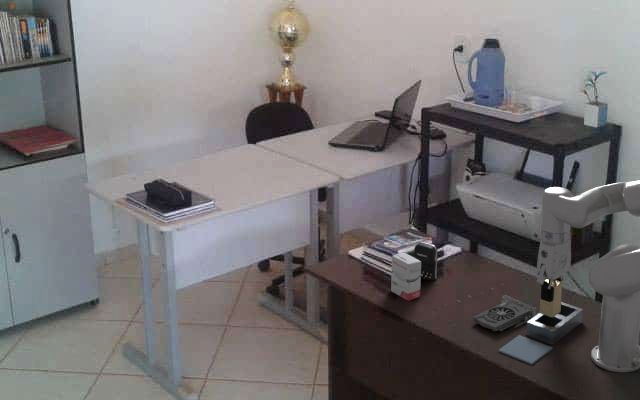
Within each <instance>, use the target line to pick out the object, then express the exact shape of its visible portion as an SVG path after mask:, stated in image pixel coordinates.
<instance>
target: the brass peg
mask: <svg viewBox="0 0 640 400" xmlns="http://www.w3.org/2000/svg"><path fill="white" fill-rule="evenodd" d="M545 281H547V282H549V280H548V279H545ZM552 288H553V297H552V302H548V301H545V300H542V299H541V293H539V294H540V295H539V296H540V297H539V313H541V314H544V315H547V316H549V317H552V318H553V317H554V316H556V315H557V314H558V313H560V310H561V302H562V296H563V295H562V293H563V292H562V291H563V290H562V289H563V281H557V280H553V282H552ZM539 313H538V314H539Z"/></svg>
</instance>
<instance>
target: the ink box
mask: <svg viewBox="0 0 640 400" xmlns="http://www.w3.org/2000/svg"><path fill="white" fill-rule="evenodd" d="M390 277H391V280H390V281H391V283H390V284H391V285H390V286H391V287H390V288H391V290H390V291H391V292H392V293H393V294H395V295H397V296H399V297H401V298H402V299H404V300H406V301H407V302H410V301H412V300H414V299H417V298H420V297H421V279H422V278H421V261H419V260H418V259H416V258H414V256H412V255H409V254H408V253H406V252H404V251H403V252H400V253H396V254H394V255H393V254H392V255H391V276H390Z"/></svg>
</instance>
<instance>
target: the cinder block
mask: <svg viewBox="0 0 640 400" xmlns="http://www.w3.org/2000/svg"><path fill="white" fill-rule="evenodd" d="M583 314H584V309H583V308H580V307H578V306H574V305H572V304H569V303H565V302H563V301H561V310H560V313H558V314H557V315H556V316H554V317H553V318H552V317H549V316H547V315H544V314H541V313H537V314H536V315H535V317H533V318H532V319H530V320H529V321H528V322H526V329H525V331H526V332H525V334H526V336H528V337H530V338H533V339H536V340H539V341H542V342H544V343H547V344H550V345H554V344H556V343H557V342H558V341H560V340H561V339H562V338H563V337H565V336H566V335H567V334H569V333H570V332H571V331H573V330H574V329H575V328H577V327H578V326H579V325H580V324H582V323H583V318H584V317H583V316H584V315H583Z"/></svg>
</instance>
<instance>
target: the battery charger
mask: <svg viewBox="0 0 640 400" xmlns="http://www.w3.org/2000/svg"><path fill="white" fill-rule="evenodd" d="M413 257H414V258H416V259H418V260H419V261H421V279H422V280H424V281H425V280H426V281H430V282H431V281H434V280H436V279H437V278H438V248H437V245H435V244H432V243H430V242H426V241H420V242H418V243H417V244H416V245H414V249H413Z"/></svg>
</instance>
